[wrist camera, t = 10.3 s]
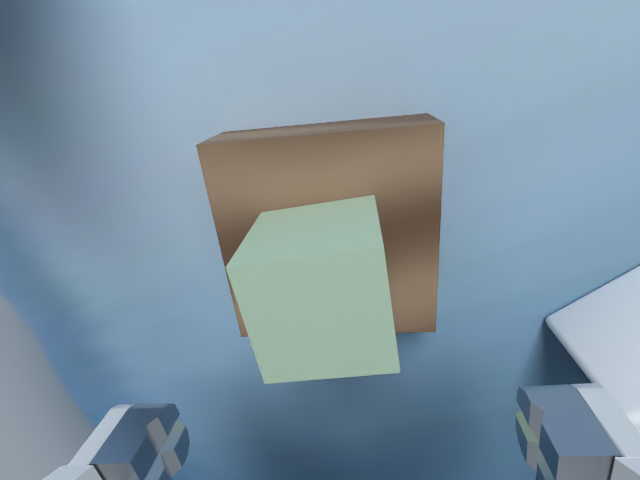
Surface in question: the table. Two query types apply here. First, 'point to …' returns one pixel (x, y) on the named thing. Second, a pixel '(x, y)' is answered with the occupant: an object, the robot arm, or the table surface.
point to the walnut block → (340, 192)
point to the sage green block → (316, 292)
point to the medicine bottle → (607, 339)
